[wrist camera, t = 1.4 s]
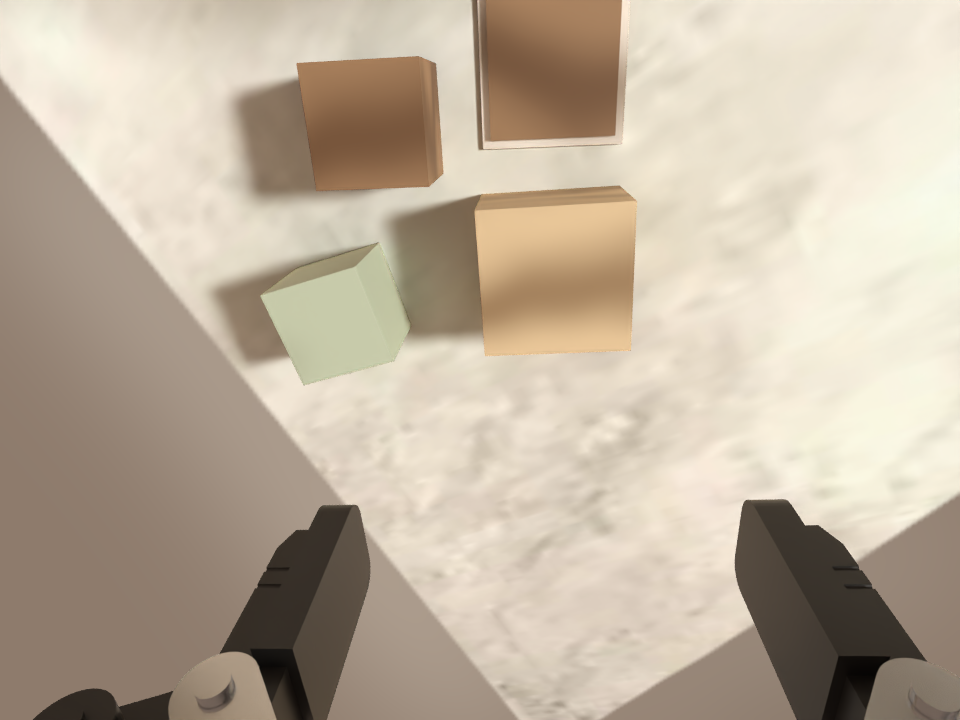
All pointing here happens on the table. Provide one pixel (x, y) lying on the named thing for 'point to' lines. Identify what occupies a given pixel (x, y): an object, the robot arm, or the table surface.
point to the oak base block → (556, 270)
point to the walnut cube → (372, 122)
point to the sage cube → (339, 314)
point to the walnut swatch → (552, 72)
